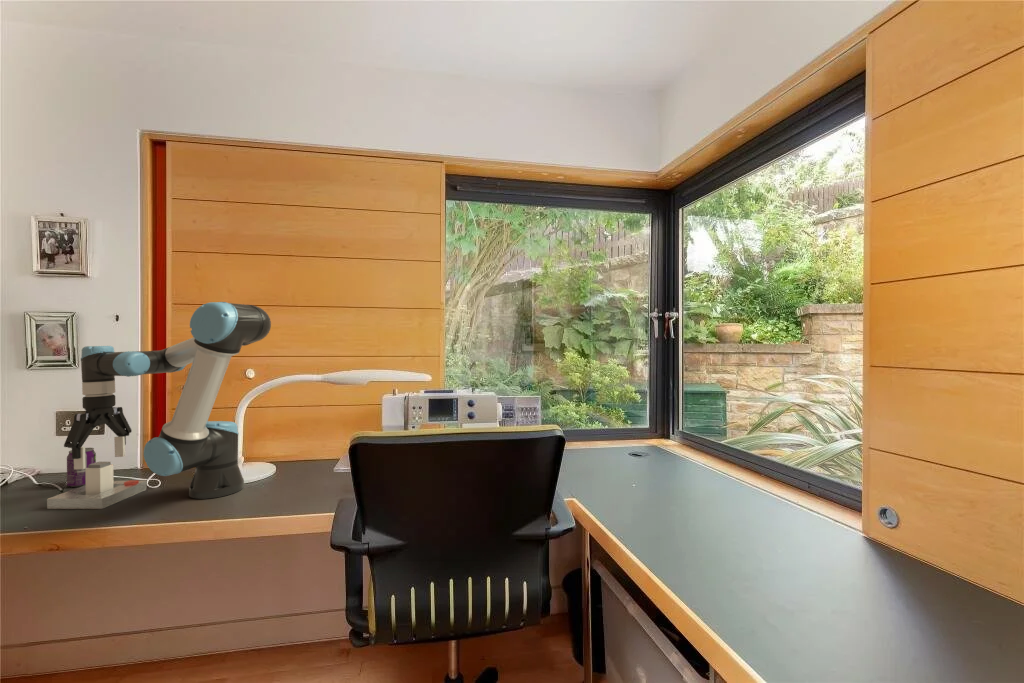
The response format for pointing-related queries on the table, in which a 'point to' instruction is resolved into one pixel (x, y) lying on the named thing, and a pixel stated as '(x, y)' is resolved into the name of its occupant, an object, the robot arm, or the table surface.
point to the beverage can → (79, 475)
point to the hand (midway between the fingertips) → (100, 462)
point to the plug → (99, 478)
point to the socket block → (96, 496)
